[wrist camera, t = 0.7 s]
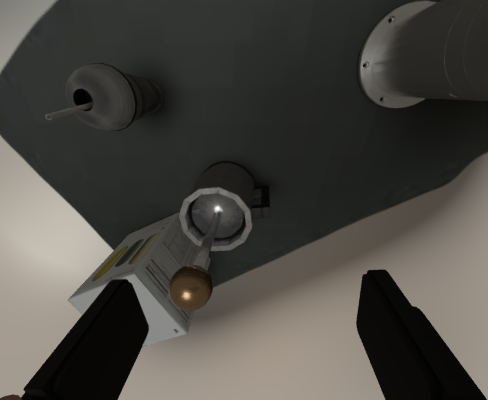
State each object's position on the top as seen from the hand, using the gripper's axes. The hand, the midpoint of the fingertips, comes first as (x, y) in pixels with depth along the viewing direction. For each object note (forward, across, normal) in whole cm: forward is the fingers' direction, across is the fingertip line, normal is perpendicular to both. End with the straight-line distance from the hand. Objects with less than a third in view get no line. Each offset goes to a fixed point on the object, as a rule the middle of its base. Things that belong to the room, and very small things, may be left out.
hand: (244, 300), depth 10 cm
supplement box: (+34, +20, +20) cm, 44 cm away
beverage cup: (+33, +16, -9) cm, 38 cm away
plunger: (+23, +6, +8) cm, 25 cm away
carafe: (+33, +5, +8) cm, 34 cm away
